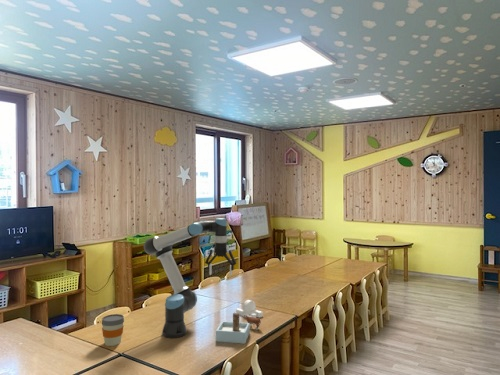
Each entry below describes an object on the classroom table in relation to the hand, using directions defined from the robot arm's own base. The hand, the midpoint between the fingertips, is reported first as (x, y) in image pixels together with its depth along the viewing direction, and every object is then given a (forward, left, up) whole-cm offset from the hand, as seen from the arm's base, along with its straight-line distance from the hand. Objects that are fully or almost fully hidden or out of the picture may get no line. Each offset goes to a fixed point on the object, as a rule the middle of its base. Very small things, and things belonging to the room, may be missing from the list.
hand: (220, 275), depth 236 cm
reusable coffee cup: (-59, -28, -37) cm, 75 cm away
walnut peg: (+12, -8, -37) cm, 40 cm away
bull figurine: (+19, +11, -37) cm, 43 cm away
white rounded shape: (+13, +35, -37) cm, 52 cm away
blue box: (+10, -7, -37) cm, 39 cm away
